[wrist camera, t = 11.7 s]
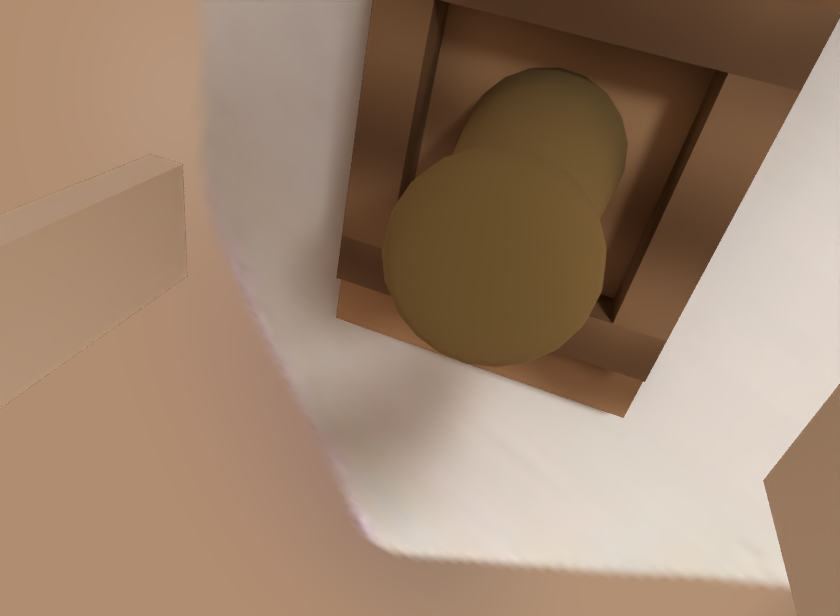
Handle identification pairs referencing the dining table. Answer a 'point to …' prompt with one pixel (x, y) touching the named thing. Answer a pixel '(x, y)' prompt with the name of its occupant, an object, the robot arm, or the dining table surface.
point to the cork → (510, 222)
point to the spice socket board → (645, 161)
